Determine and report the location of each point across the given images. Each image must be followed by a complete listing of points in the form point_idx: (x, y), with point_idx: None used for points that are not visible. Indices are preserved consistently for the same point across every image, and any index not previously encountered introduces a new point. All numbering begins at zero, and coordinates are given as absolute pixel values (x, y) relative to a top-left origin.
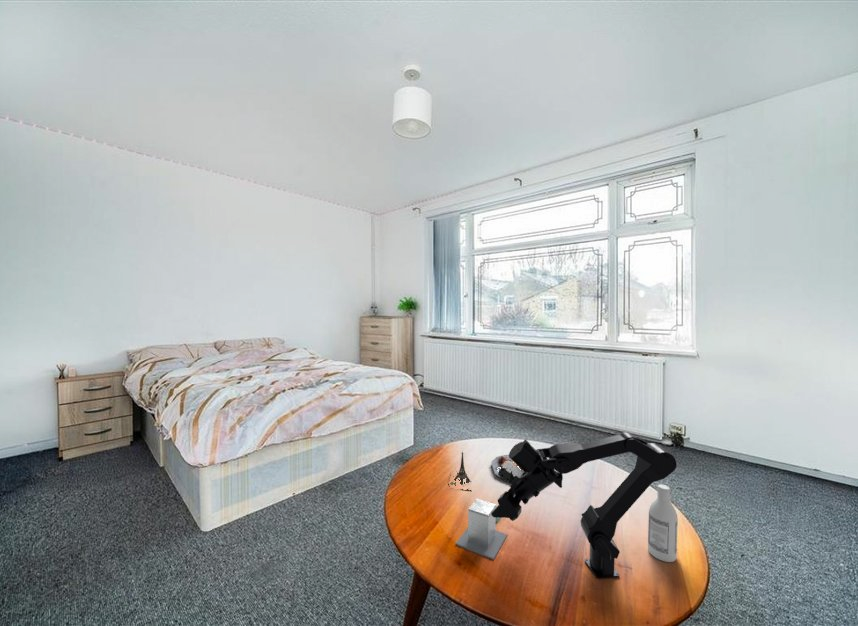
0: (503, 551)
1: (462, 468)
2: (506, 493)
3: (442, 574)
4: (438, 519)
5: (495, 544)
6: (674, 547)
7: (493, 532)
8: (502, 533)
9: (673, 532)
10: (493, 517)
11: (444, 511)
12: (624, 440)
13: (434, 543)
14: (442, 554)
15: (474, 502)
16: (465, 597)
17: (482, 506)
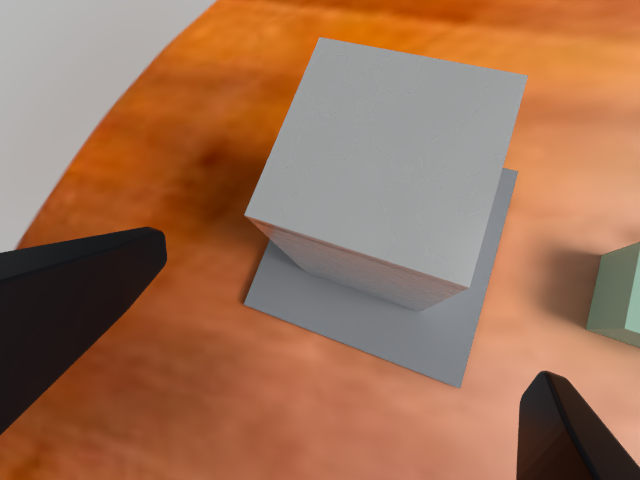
0: (316, 357)
1: None
2: None
3: (149, 113)
4: (487, 18)
5: (348, 313)
6: None
7: (389, 296)
8: (459, 357)
9: None
10: (388, 280)
11: (573, 26)
12: None
13: (309, 47)
14: (250, 90)
15: (438, 68)
16: (55, 205)
17: (386, 148)
